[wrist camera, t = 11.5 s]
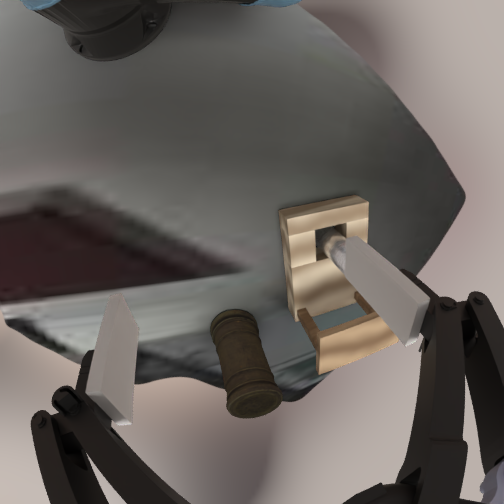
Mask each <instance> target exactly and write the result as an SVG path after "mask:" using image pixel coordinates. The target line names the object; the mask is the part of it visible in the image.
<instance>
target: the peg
mask: <svg viewBox="0 0 504 504" xmlns="http://www.w3.org/2000/svg"><path fill="white" fill-rule="evenodd" d="M315 244H316V245H317V246H318V247H319V248H320V249H321V250H322V251H323V252H324V254H325V255H326V256H327V257H328V258H329V259H330V260H331V261H332V262H333V263H334V264H335V265H336V266H337V267H338V269H339V270H340V271H341V272H342V273H343V274H344V275H345V260H346V238H345V237H344V236H342V235H341V234H340V233H339V232H338V231H337V230H335V229H334V228H333V227H332V226H330V227H325V228H321V229H317V230H315Z"/></svg>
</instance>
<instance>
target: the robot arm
mask: <svg viewBox="0 0 504 504" xmlns="http://www.w3.org/2000/svg"><path fill="white" fill-rule="evenodd" d="M20 1H22V2H23V4H24V5H25V6H26V7H27V8H28V9H30V10H33V11H35V12H37V13H39V14H40V15H42V16H44V17H46V18H48V19H49V20H51V21H53V22H54V23H56V24H58V25H59V26H61V27H63V29H64V33H65V37H66V40H67V42H68V44H69V45H70V47H71V48H72V49H73V50H74V51H75V52H77V53H78V54H80V55H82V56H83V57H85V58H88V59H91V60H95V61H112V60H117V59H121V58H124V57H127V56H129V55H131V54H134V53H136V52H137V51H139V50H141V49H142V48H144V47H145V46H147V45H148V44H149V43H150V42H152V41H153V40H154V39H155V38H156V37H157V36H158V34H159V33H160V32H161V31H162V29H163V28H164V26H165V24H166V23H167V21H168V18H169V15H170V11H171V2H226V3H238V4H239V5H242V6H253V5H262V6H271V7H286V6H289V5H293V4H296V3H298V2H300V1H302V0H20ZM345 277H346V279H347V280H348V281H349V282H350V283H351V284H352V285H353V286H354V287H355V289H356V290H357V291H358V292H359V293H360V294H361V295H362V296H363V298H364V299H365V300H366V301H367V302H368V303H369V304H370V306H371V307H372V308H373V309H374V310H375V311H376V313H377V314H378V315H379V316H380V317H381V318H382V319H383V321H384V322H385V323H386V324H387V325H388V327H389V328H390V329H391V330H392V331H393V332H394V334H395V335H396V336H397V337H398V338H399V340H400V341H401V342H402V343H403V344H404V346H405V347H406V346H408V345H410V344H412V343H414V342H416V341H417V339H418V336H419V333H421V334H422V335H423V336H424V338H423V341H422V343H421V346H420V349H419V352H421V349H422V355H421V368H420V379H419V387H418V395H417V403H416V409H415V414H414V420H413V426H412V431H411V436H410V441H409V445H408V449H407V453H406V458H405V461H404V463H403V465H402V467H401V469H400V471H399V473H398V476H397V479H396V482H395V484H386V485H382V483H379V484H377V485H375V486H373V487H371V488H369V489H367V490H365V491H362V492H360V493H358V494H356V495H354V496H353V497H351V498H350V499H348V500H347V501H346V502H344V503H343V504H504V328H503V326H502V324H501V322H500V320H499V318H498V316H497V314H496V312H495V310H494V308H493V306H492V304H491V302H490V301H489V299H488V298H487V296H486V295H485V294H483V293H481V292H476V291H474V292H471V293H470V294H469V296H468V299H467V301H461V302H456V301H455V300H454V299H452V298H450V297H439V296H438V295H437V294H435V293H434V292H433V291H432V290H431V289H430V288H429V287H428V286H427V285H425V284H424V283H422V281H421V280H419V279H418V278H417V277H416V276H415V275H414V274H413V273H411V272H409V271H407V270H405V269H401V270H398V269H397V268H396V267H395V266H393V265H392V264H391V263H390V262H389V261H388V260H386V259H385V258H384V257H383V256H382V255H380V254H379V253H378V252H377V251H375V250H374V249H373V248H372V247H371V246H369V245H368V244H367V243H366V242H364V241H363V240H362V239H361V238H359V237H358V236H353V237H349V238H346V260H345ZM138 337H139V327H138V325H137V323H136V322H135V320H134V318H133V316H132V314H131V312H130V310H129V308H128V305H127V303H126V301H125V299H124V297H123V295H122V293H120V294H115V295H111V296H110V297H109V300H108V303H107V307H106V310H105V313H104V317H103V320H102V324H101V327H100V331H99V335H98V338H97V342H96V346H95V350H89V351H87V353H86V354H85V356H84V357H83V360H82V364H81V368H80V372H79V376H78V380H77V385H76V389H75V390H74V389H73V388H72V387H71V386H62V387H60V388H59V389H57V390H56V391H55V393H54V395H53V397H52V406H53V407H54V408H55V409H56V410H57V411H58V412H59V413H57V414H54V415H50V414H49V413H48V412H47V411H45V410H40V411H38V412H37V413H35V414H34V416H33V417H32V420H31V430H32V435H33V441H34V446H35V451H36V455H37V460H38V464H39V468H40V471H41V475H42V479H43V482H44V485H45V489H46V492H47V495H48V498H49V501H50V503H51V504H109V503H108V501H107V499H106V497H105V495H104V493H103V491H102V489H101V487H100V485H99V482H98V480H97V478H96V476H95V474H94V471H93V469H92V466H91V464H90V461H89V459H88V456H89V457H90V458H91V460H92V461H93V463H94V464H95V465H96V467H97V468H98V469H99V471H100V472H101V473H102V474H103V476H104V477H105V478H106V480H107V481H108V482H109V483H110V485H111V486H112V487H113V488H114V489H115V490H116V491H117V493H118V494H119V495H120V496H121V497H122V499H123V500H124V501H125V502H126V503H127V504H190V503H189V502H188V501H187V500H185V499H184V498H183V497H182V496H180V495H179V494H178V493H177V492H176V491H175V490H173V489H172V488H171V487H170V486H169V485H168V484H166V483H165V482H164V481H163V480H162V479H161V478H160V477H159V476H158V475H157V474H156V473H154V471H153V470H152V469H150V468H149V467H148V466H147V465H146V464H145V463H144V462H143V461H142V460H141V459H140V457H138V455H137V454H136V453H135V452H134V451H133V450H132V449H131V448H130V447H129V446H128V445H127V444H126V443H125V442H124V440H123V439H122V438H121V437H120V436H119V434H118V433H117V432H116V431H115V430H114V429H113V428H112V427H111V422H112V421H111V420H113V421H114V422H115V423H116V424H117V425H131V424H132V412H133V393H134V378H135V366H136V355H137V346H138ZM465 375H466V379H467V383H468V387H469V391H470V395H471V400H472V404H473V409H474V414H475V419H476V425H477V431H478V438H479V445H480V452H481V460H482V465H483V469H484V473H485V475H486V476H485V478H484V481H483V482H482V484H481V485H480V491H481V493H484V495H483V499H482V501H481V502H475V501H470V500H465V499H460V498H459V497H460V493H461V488H462V483H463V478H464V472H465V466H466V460H467V452H468V445H467V442H466V441H464V440H463V425H464V409H465ZM86 453H87V454H88V456H87V454H86Z"/></svg>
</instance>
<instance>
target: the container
mask: <svg viewBox="0 0 504 504" xmlns="http://www.w3.org/2000/svg"><path fill="white" fill-rule="evenodd" d="M210 331H211V336H212V339H213V342H214V344H215V345H216V351H217V354H218V356H219V360H220V365H221V370H222V375H223V380H224V388H225V391H226V392H227V404H226V407H227V410H228V411H229V412H230V414H231V415H233V416H235V417H238V418H255V417H259V416H263V415H266V414H268V413H270V412H272V411H273V410H275V409H276V408H277V407H278V406H279V405H280V404H281V402H282V399H283V395H282V392H281V390H280V389H279V388H278V386H277V384H276V383H275V382H274V375H273V373H272V372H271V370H270V367H269V364H268V362H267V359H266V357H265V354H264V351H263V348H262V345H261V339H260V337H259V329H258V326H257V322H256V320H255V318H254V317H253V316H252V315H251V314H249V313H248V312H245V311H242V310H229V311H225V312H223V313H221V314H219V315H218V316H217V317H216V318H215V319H214V320H213V322H212V324H211V330H210Z"/></svg>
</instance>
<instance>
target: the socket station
mask: <svg viewBox="0 0 504 504" xmlns="http://www.w3.org/2000/svg"><path fill="white" fill-rule="evenodd" d="M368 203H369V202H367V201H366V200H364V199H362V198H360V197H359V196H357V195H352V196H347V197H341V198H336V199H331V200H326V201H321V202H316V203H311V204H306V205H301V206H296V207H291V208H286V209H282V210H278V211H279V219H280V228H281V237H282V246H283V256H284V266H285V276H286V286H287V297H288V308H289V310H290V312H291V314H292V316H293V318H294V320H295V322H297V321H300V322H301V324H302V326H303V328H304V329H305V331H306V333H307V335H308V337H309V339H310V340H311V342H312V344H313V346H314V348H315V349H316V351H317V355H316V370H317V372H318V374H319V375H320V374H322V373H325V372H328V371H331V370H333V369H336V368H339V367H341V366H344V365H346V364H349V363H351V362H354V361H356V360H359V359H361V358H363V357H366V356H368V355H371V354H373V353H375V352H377V351H379V350H382V349H384V348H386V347H388V346H391V345H392V344H394V343H397V342H398V341H399V338H398V337H397V336H396V335H395V334H394V332H393V331H392V330H391V329H390V328H389V327H388V325H387V324H386V323H385V322H384V321H383V319H382V318H381V317H380V316H379V315H378V314H377V313H376V311H375V310H374V309H373V308H372V307H371V306H370V304H369V303H368V302H367V301H366V300H365V299H364V298H363V296H362V295H361V294H360V293H359V292H358V291H357V290H356V289H355V287H354V286H353V285H352V284H351V283H350V282H349V281H348V280H347V279H346V277H345V275H344V274H343V273H342V272H341V271H340V270H339V269H338V267H337V266H336V265H335V264H334V263H333V262H332V261H331V260H330V259H329V258H328V257H327V256H326V255H325V254H324V252H323V251H322V250H321V249H320V248H319V247H318V248H316V245H315V230H317V229H321V228H325V227H330V226H334V225H335V230H337V231H338V232H339V233H340V234H341V235H342V236H344V237H345V238H349V237H353V236H358V237H359V238H361V239H362V240H363V241H364V242H366V243H367V235H368ZM356 302H357V303H358V304H359V305H360V306H361V307H362V309H363V310H364V311H365V312H366V313H367V315H365V316H362V317H360V318H357V319H354V320H352V321H349V322H346V323H343V324H341V325H338V326H335V327H332V328H329V329H326V330H323V331H320V330H319V329H318V327H317V326H316V324H315V322H314V321H313V319H312V317H314V316H317V315H320V314H323V313H326V312H329V311H332V310H335V309H338V308H341V307H344V306H347V305H350V304H353V303H356Z"/></svg>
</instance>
